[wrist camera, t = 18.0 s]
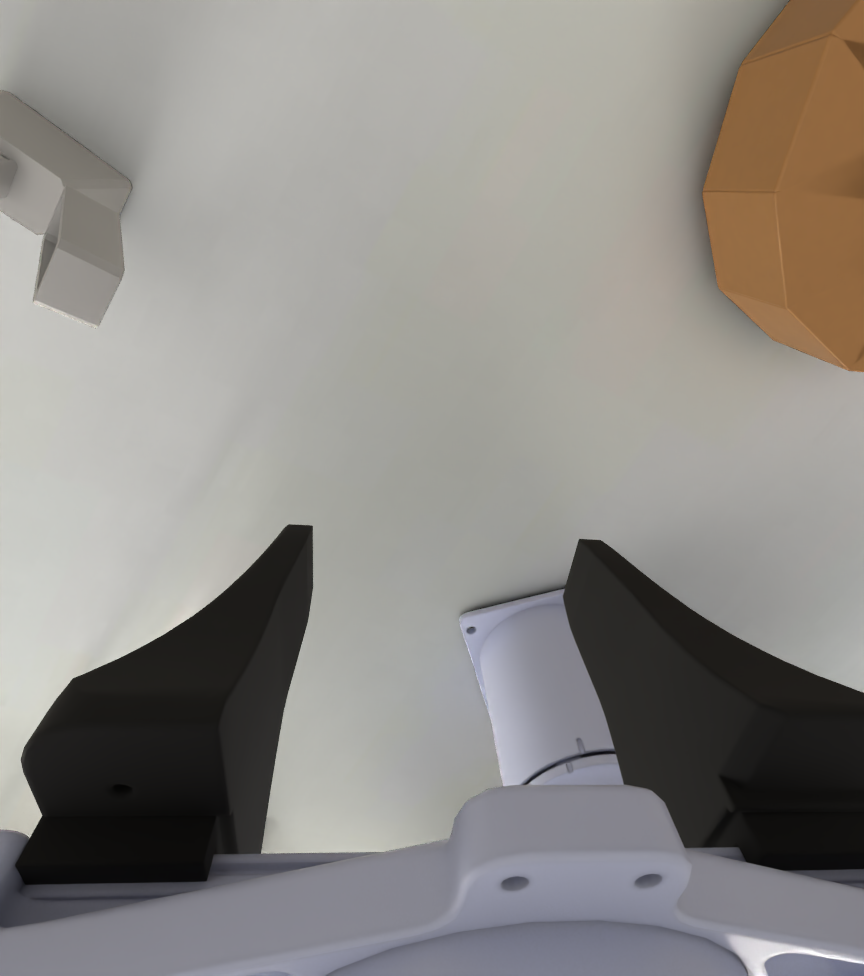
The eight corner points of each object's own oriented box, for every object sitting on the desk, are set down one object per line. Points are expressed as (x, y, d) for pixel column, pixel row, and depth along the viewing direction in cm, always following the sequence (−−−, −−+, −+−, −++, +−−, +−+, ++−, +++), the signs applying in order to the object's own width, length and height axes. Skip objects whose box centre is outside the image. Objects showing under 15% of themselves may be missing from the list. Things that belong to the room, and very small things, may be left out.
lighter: (-15, 140, 17) (-292, 110, 10) (3, 88, 17) (-278, 18, 10) (193, 283, 20) (84, 337, 13) (215, 242, 19) (114, 276, 12)
